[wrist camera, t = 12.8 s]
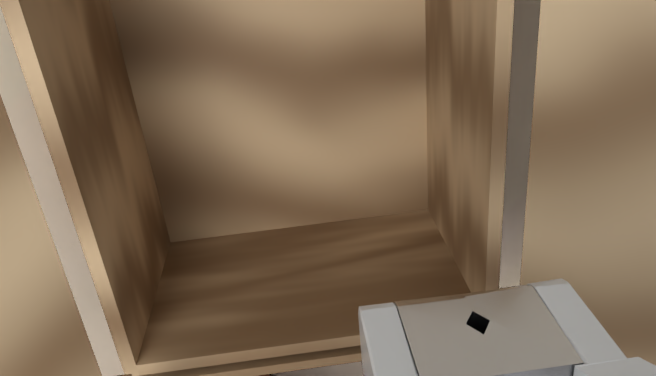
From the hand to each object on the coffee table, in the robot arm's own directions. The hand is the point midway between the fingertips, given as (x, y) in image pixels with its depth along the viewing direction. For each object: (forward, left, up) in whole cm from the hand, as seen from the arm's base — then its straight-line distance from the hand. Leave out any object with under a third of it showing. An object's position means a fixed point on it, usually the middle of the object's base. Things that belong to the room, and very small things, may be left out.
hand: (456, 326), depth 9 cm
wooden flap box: (0, -2, -19) cm, 19 cm away
